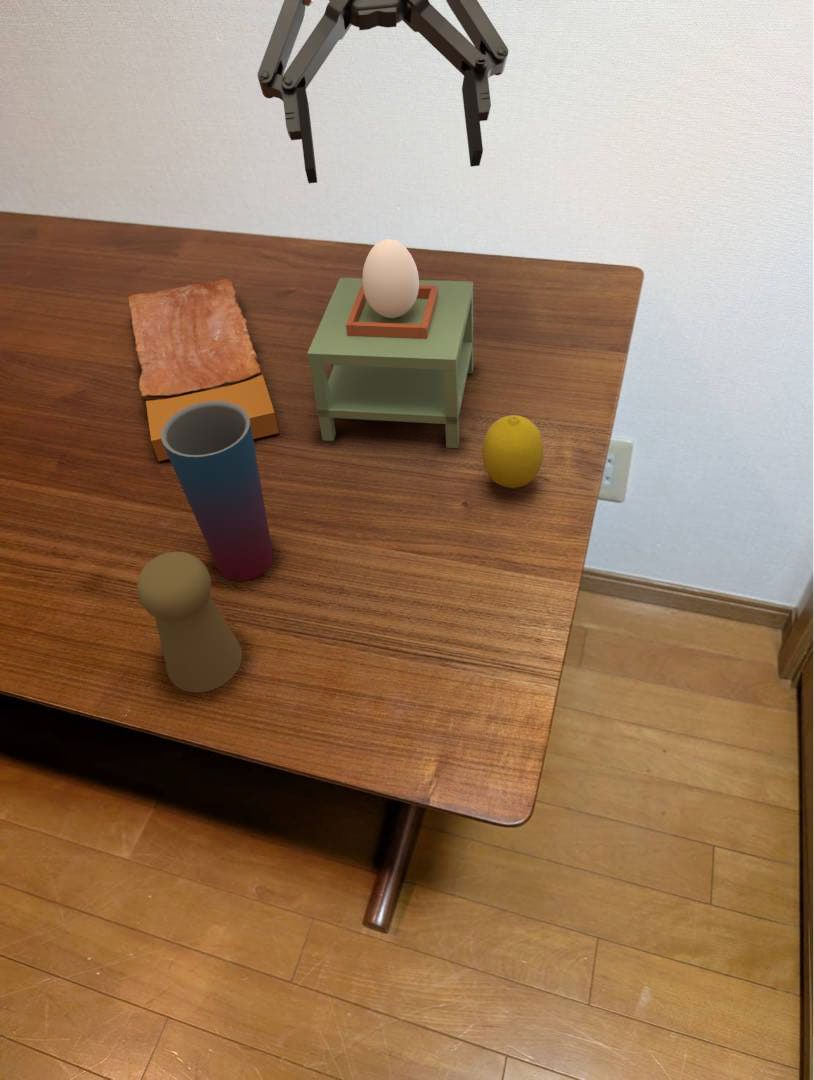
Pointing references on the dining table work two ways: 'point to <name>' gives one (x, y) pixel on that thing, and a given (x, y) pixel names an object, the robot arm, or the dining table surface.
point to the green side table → (394, 358)
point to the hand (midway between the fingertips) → (394, 168)
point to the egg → (390, 279)
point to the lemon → (512, 451)
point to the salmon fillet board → (197, 355)
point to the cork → (188, 622)
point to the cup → (222, 484)
